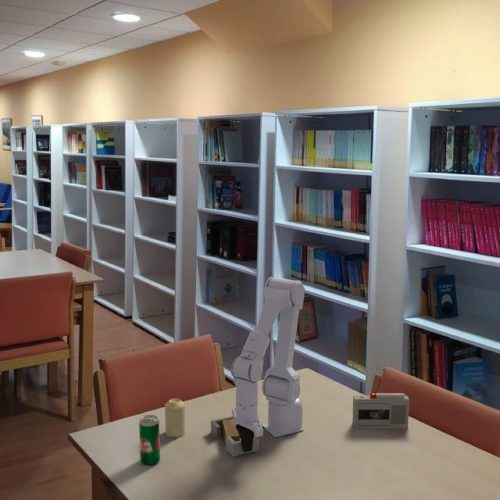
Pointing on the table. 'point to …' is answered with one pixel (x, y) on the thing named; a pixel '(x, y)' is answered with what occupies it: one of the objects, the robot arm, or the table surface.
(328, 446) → the table surface
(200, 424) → the table surface
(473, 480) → the table surface
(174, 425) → the candle
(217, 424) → the fixed cap
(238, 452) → the cap
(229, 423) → the brown wooden block
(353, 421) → the cassette player
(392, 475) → the table surface
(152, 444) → the soda can
